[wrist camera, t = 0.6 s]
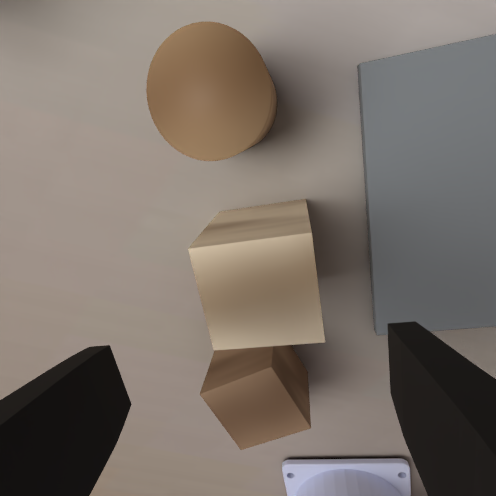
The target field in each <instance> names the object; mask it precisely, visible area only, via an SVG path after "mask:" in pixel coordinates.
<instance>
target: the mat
mask: <svg viewBox="0 0 496 496" xmlns="http://www.w3.org/2000/svg"><path fill="white" fill-rule="evenodd" d="M357 68H358V83H359V99H360V115H361V130H362V146H363V162H364V177H365V193H366V209H367V224H368V240H369V256H370V271H371V287H372V303H373V319H374V330H375V332H376V335H386V334H388V325H387V323H400V322H413V321H416V322H417V323H418V324H420V325H421V326H423V327H424V328H425V329H427V330H428V331H440V330H453V329H467V328H480V327H493V326H496V34H495V35H490V36H485V37H481V38H476V39H471V40H467V41H462V42H458V43H453V44H448V45H444V46H439V47H434V48H430V49H425V50H420V51H416V52H411V53H407V54H402V55H397V56H393V57H388V58H383V59H379V60H374V61H369V62H365V63H360V64H359V65H358V66H357Z"/></svg>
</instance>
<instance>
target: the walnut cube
mask: <svg viewBox="0 0 496 496" xmlns="http://www.w3.org/2000/svg"><path fill="white" fill-rule="evenodd" d="M200 395H201V397H202V398H203V399H204V401H205V402H206V403H207V405H208V406H209V407H210V409H211V410H212V411H213V413H214V414H215V416H216V417H217V418H218V420H219V421H220V422H221V424H222V425H223V426H224V428H225V429H226V430H227V432H228V433H229V434H230V436H231V437H232V439H233V440H234V441H235V443H236V444H237V445H238V447H239V448H240V449H241V450H243V449H246V448H249V447H252V446H255V445H259V444H262V443H265V442H268V441H271V440H275V439H278V438H281V437H284V436H287V435H291V434H294V433H297V432H300V431H303V430H307V429H310V428H311V421H310V404H309V388H308V372H307V370H306V369H305V367H304V366H303V364H302V362H301V361H300V359H299V357H298V356H297V354H296V353H295V351H294V349H293V348H292V346H291V345H283V346H269V347H255V348H241V349H227V350H215V351H214V354H213V357H212V360H211V363H210V366H209V369H208V372H207V375H206V378H205V380H204V383H203V386H202V389H201V392H200Z"/></svg>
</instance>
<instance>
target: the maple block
mask: <svg viewBox="0 0 496 496" xmlns="http://www.w3.org/2000/svg"><path fill="white" fill-rule="evenodd" d="M188 251H189V255H190V259H191V263H192V267H193V271H194V274H195V278H196V282H197V286H198V290H199V294H200V298H201V302H202V306H203V310H204V314H205V318H206V322H207V326H208V330H209V334H210V338H211V342H212V346H213V349H214V350H227V349H241V348H255V347H269V346H283V345H296V344H310V343H324V342H325V337H324V329H323V321H322V312H321V304H320V296H319V288H318V280H317V271H316V263H315V255H314V247H313V238H312V231H311V225H310V220H309V214H308V209H307V203H306V199H301V200H294V201H288V202H281V203H274V204H268V205H261V206H254V207H248V208H241V209H234V210H228V211H221V212H219V213H218V214H217V215H216V216H215V217H214V219H213V220H212V221H211V222H210V223H209V225H208V226H207V227H206V228H205V229H204V230H203V232H202V233H201V234H200V235H199V236H198V238H197V239H196V240H195V241H194V242H193V243H192V245H191V246H190V247H189V248H188Z"/></svg>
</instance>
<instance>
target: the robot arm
mask: <svg viewBox="0 0 496 496" xmlns="http://www.w3.org/2000/svg"><path fill="white" fill-rule="evenodd" d="M387 325H388V346H389V367H390V389H391V396H392V399H393V403H394V406H395V410H396V413H397V416H398V420H399V423H400V426H401V430H402V433H403V436H404V439H405V441H406V444H407V446H408V449H409V451H410V453H411V456H412V458H413V461H414V463H415V466H416V468H417V470H418V473H419V475H420V478H421V480H422V482H423V485H424V487H425V489H426V492H427V494H428V496H496V379H495V378H493V377H492V376H490V375H489V374H487V373H486V372H485V371H483V370H482V369H480V368H479V367H477V366H476V365H474V364H473V363H472V362H470V361H469V360H468V359H466V358H465V357H463V356H462V355H461V354H459V353H458V352H456V351H455V350H454V349H452V348H451V347H450V346H448V345H447V344H446V343H444V342H443V341H441V340H440V339H439V338H437V337H436V336H435V335H433V334H432V333H431V332H429V331H428V330H427V329H425V328H424V327H423V326H421V325H420V324H418V323H417V322H416V321H413V322H400V323H387ZM130 407H131V402H130V399H129V397H128V394H127V391H126V388H125V386H124V383H123V380H122V378H121V375H120V372H119V369H118V367H117V364H116V361H115V359H114V356H113V353H112V350H111V348H110V345H107V346H94V347H89V348H86V349H84V350H82V351H80V352H79V353H77V354H75V355H73V356H71V357H70V358H68V359H66V360H65V361H63V362H61V363H60V364H58V365H56V366H55V367H53V368H51V369H50V370H48V371H46V372H45V373H43V374H42V375H40V376H38V377H37V378H35V379H34V380H32V381H30V382H29V383H27V384H26V385H24V386H22V387H21V388H19V389H18V390H16V391H14V392H13V393H11V394H10V395H8V396H6V397H5V398H3V399H2V400H0V496H89V495H90V493H91V491H92V490H93V488H94V486H95V484H96V482H97V480H98V478H99V476H100V474H101V473H102V471H103V469H104V467H105V465H106V463H107V461H108V459H109V457H110V455H111V453H112V451H113V449H114V447H115V445H116V443H117V441H118V438H119V436H120V433H121V431H122V429H123V426H124V423H125V421H126V418H127V415H128V412H129V409H130ZM282 471H283V476H284V481H285V486H286V491H287V496H411V483H410V467H409V464H408V462H407V461H406V460H404V459H401V458H391V459H303V460H285V461H284V462H283V463H282Z"/></svg>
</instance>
